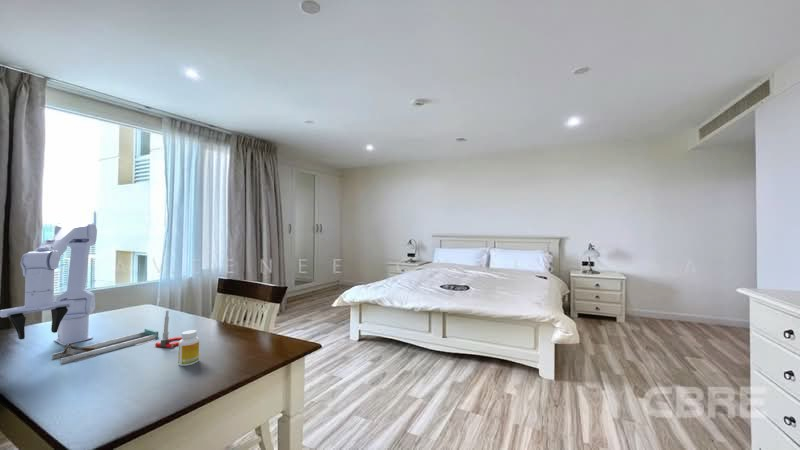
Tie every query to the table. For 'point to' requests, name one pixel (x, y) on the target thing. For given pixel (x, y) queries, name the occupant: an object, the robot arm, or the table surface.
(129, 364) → the table surface
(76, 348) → the wooden post with brackets
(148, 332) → the guide rail
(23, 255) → the robot arm
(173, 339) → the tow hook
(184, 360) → the supplement bottle
